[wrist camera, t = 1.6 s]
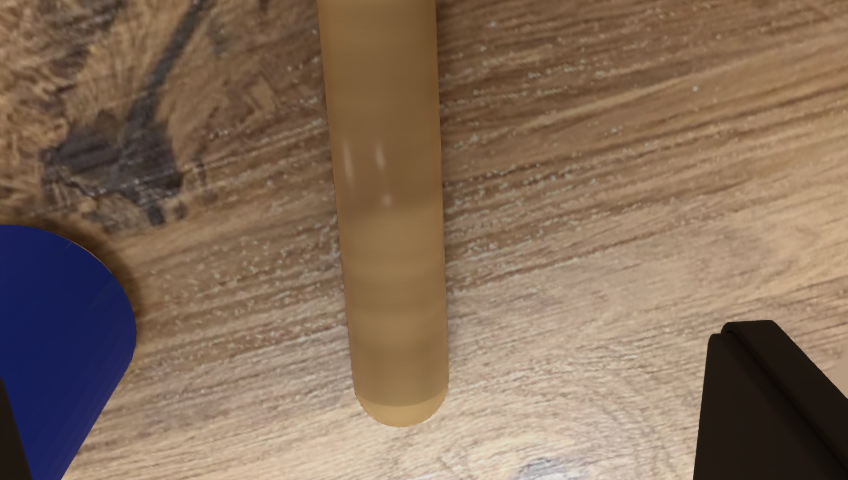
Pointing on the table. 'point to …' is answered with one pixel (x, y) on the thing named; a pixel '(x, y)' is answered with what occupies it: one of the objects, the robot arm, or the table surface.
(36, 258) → the beverage can
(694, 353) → the table surface
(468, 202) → the table surface
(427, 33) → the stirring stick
